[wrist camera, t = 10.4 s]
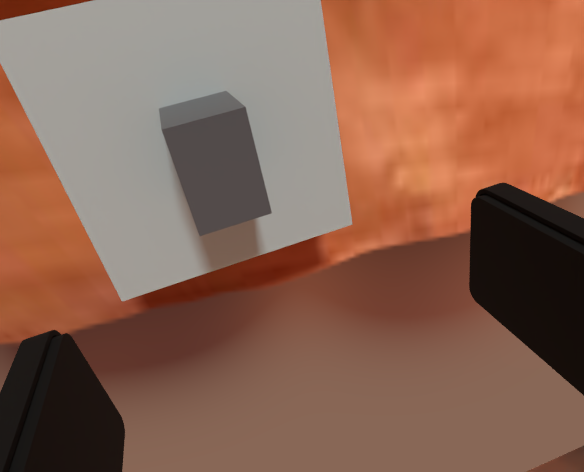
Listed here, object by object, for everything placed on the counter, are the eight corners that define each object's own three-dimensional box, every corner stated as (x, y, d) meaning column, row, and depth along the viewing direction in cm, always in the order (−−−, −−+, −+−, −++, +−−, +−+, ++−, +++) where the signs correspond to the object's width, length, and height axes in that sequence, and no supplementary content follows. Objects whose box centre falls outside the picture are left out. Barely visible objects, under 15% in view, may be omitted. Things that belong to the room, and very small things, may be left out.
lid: (307, -44, 21) (358, -67, 16) (346, 218, 28) (390, 261, 23) (-12, 24, 18) (-74, 24, 13) (122, 292, 26) (116, 358, 21)
